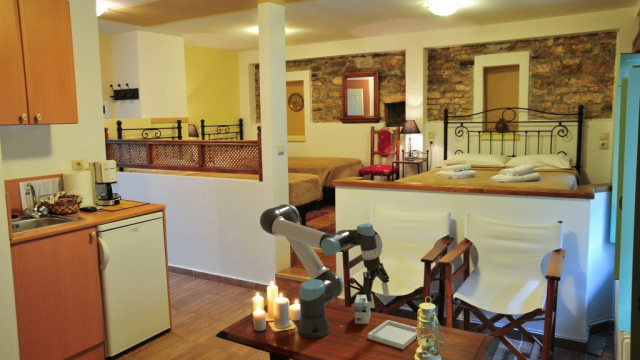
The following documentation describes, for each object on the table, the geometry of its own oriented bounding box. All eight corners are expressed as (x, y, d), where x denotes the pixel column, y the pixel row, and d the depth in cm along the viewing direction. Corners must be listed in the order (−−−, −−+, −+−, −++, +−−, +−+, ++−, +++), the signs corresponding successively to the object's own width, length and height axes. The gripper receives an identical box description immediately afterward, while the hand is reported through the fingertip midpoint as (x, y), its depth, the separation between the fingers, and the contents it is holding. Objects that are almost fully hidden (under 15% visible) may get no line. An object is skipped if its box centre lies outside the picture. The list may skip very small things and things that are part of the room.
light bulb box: (368, 324, 240) (368, 303, 238) (354, 323, 241) (354, 302, 240) (370, 315, 250) (370, 294, 249) (357, 314, 252) (356, 294, 250)
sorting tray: (367, 338, 225) (367, 333, 225) (387, 324, 239) (387, 319, 239) (403, 349, 214) (403, 344, 214) (422, 333, 228) (422, 329, 228)
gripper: (363, 266, 216) (372, 313, 218) (391, 248, 235) (399, 291, 237) (349, 266, 220) (358, 312, 222) (377, 249, 240) (385, 291, 242)
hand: (379, 301), depth 230 cm, fingers open, 13 cm apart
